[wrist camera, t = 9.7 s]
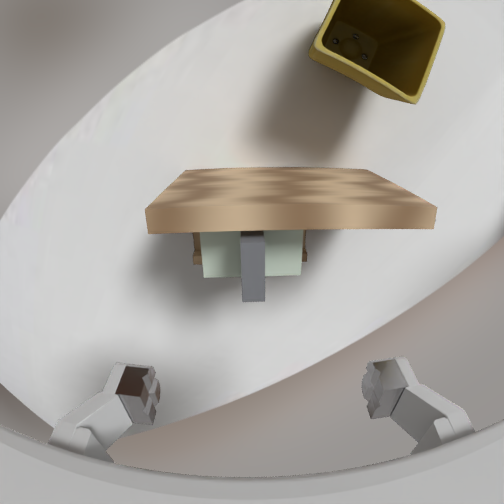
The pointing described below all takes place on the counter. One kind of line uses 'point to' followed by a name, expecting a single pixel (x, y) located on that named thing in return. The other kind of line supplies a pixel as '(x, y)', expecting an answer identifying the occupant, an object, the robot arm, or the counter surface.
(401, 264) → the counter surface
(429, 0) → the counter surface
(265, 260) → the pale green box
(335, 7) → the flower pot
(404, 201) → the wall board
